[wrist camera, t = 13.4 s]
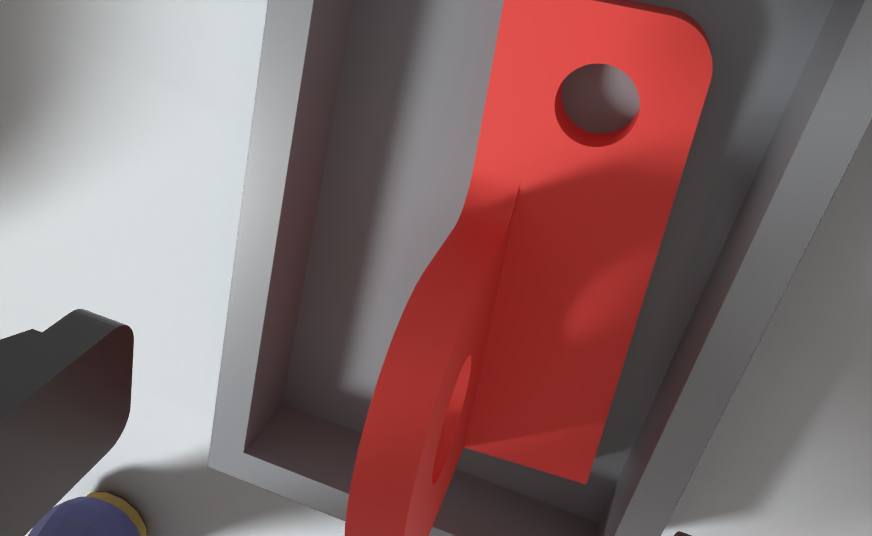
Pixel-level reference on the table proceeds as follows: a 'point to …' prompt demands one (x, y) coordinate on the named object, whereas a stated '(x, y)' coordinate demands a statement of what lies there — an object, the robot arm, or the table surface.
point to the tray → (440, 210)
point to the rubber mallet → (91, 518)
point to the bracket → (535, 263)
